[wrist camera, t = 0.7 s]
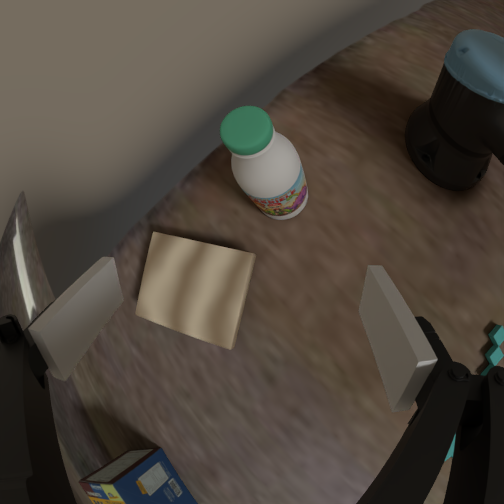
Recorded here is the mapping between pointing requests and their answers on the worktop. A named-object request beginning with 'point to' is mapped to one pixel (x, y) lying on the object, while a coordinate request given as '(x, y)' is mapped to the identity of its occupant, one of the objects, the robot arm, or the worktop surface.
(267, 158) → the milk bottle
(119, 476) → the protein box
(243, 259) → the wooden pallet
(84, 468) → the worktop surface
